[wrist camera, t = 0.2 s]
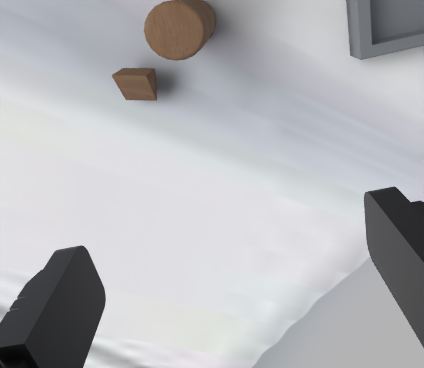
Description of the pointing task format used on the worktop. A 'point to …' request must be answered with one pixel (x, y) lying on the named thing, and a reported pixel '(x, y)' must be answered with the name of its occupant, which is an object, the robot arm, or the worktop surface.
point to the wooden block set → (168, 42)
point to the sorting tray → (384, 26)
